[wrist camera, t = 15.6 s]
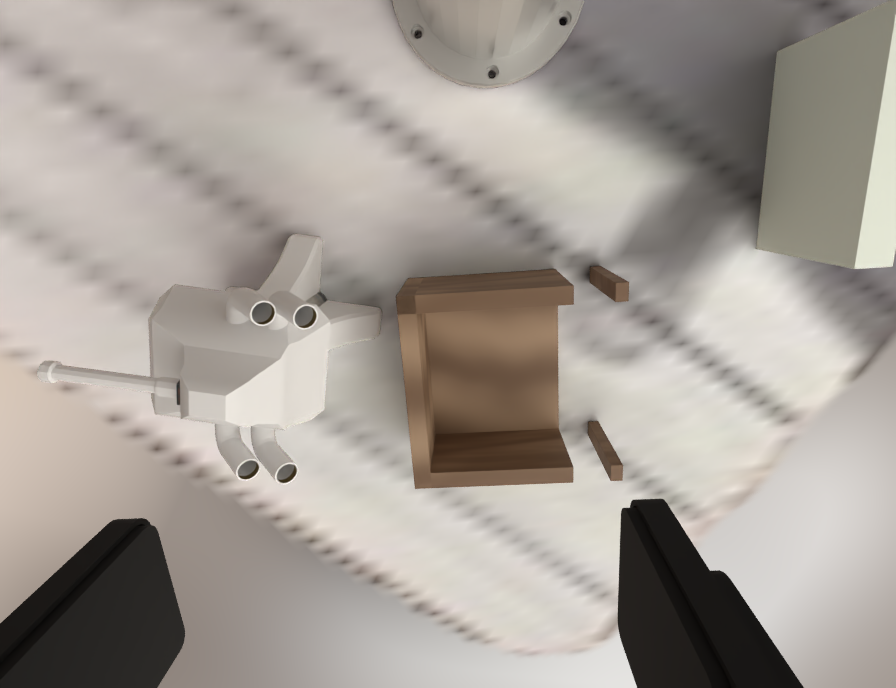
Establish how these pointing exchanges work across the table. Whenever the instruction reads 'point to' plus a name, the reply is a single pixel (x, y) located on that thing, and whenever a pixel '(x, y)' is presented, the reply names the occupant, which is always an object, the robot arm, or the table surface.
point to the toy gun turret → (244, 357)
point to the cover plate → (834, 146)
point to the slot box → (490, 377)
